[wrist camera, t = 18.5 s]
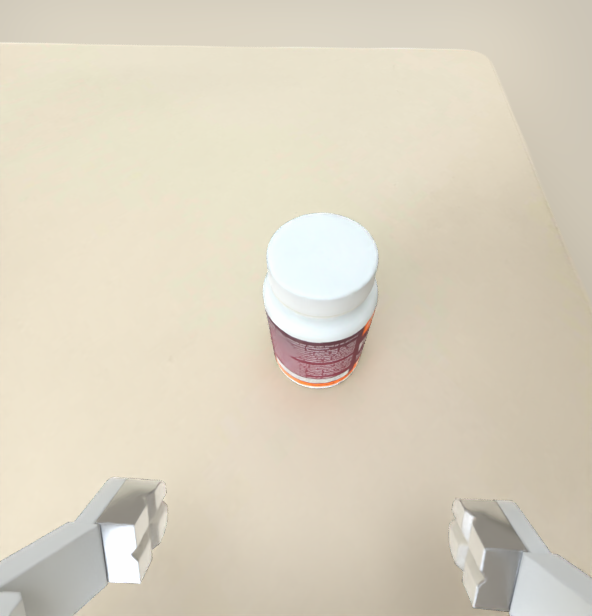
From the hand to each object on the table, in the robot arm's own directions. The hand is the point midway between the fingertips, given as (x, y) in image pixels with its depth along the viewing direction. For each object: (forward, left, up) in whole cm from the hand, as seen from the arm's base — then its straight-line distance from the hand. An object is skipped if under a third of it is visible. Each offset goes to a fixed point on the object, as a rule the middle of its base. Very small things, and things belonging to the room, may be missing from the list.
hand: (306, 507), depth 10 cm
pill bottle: (0, -8, -7) cm, 11 cm away
